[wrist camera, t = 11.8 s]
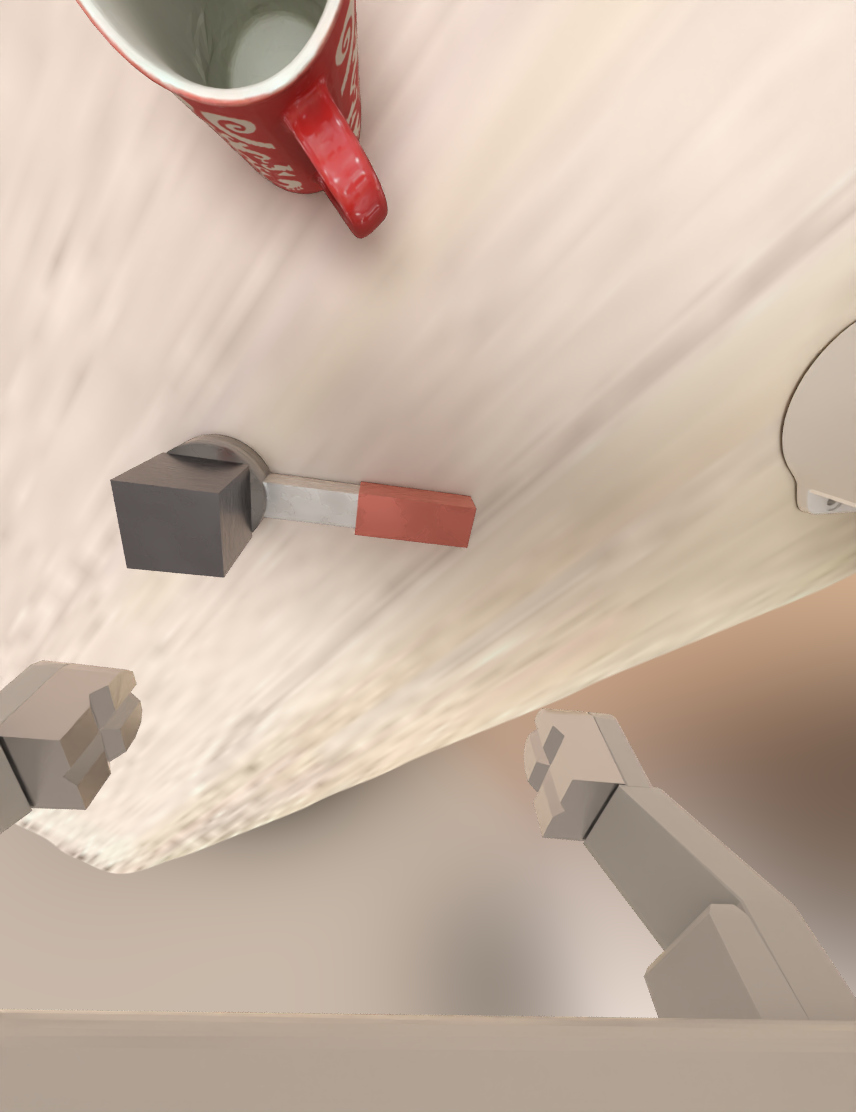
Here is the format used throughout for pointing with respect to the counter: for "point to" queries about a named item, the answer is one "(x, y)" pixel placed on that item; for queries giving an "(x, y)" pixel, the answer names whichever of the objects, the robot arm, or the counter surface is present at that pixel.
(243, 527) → the matte grey cube
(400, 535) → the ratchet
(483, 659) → the counter surface
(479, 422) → the counter surface
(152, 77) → the mug
